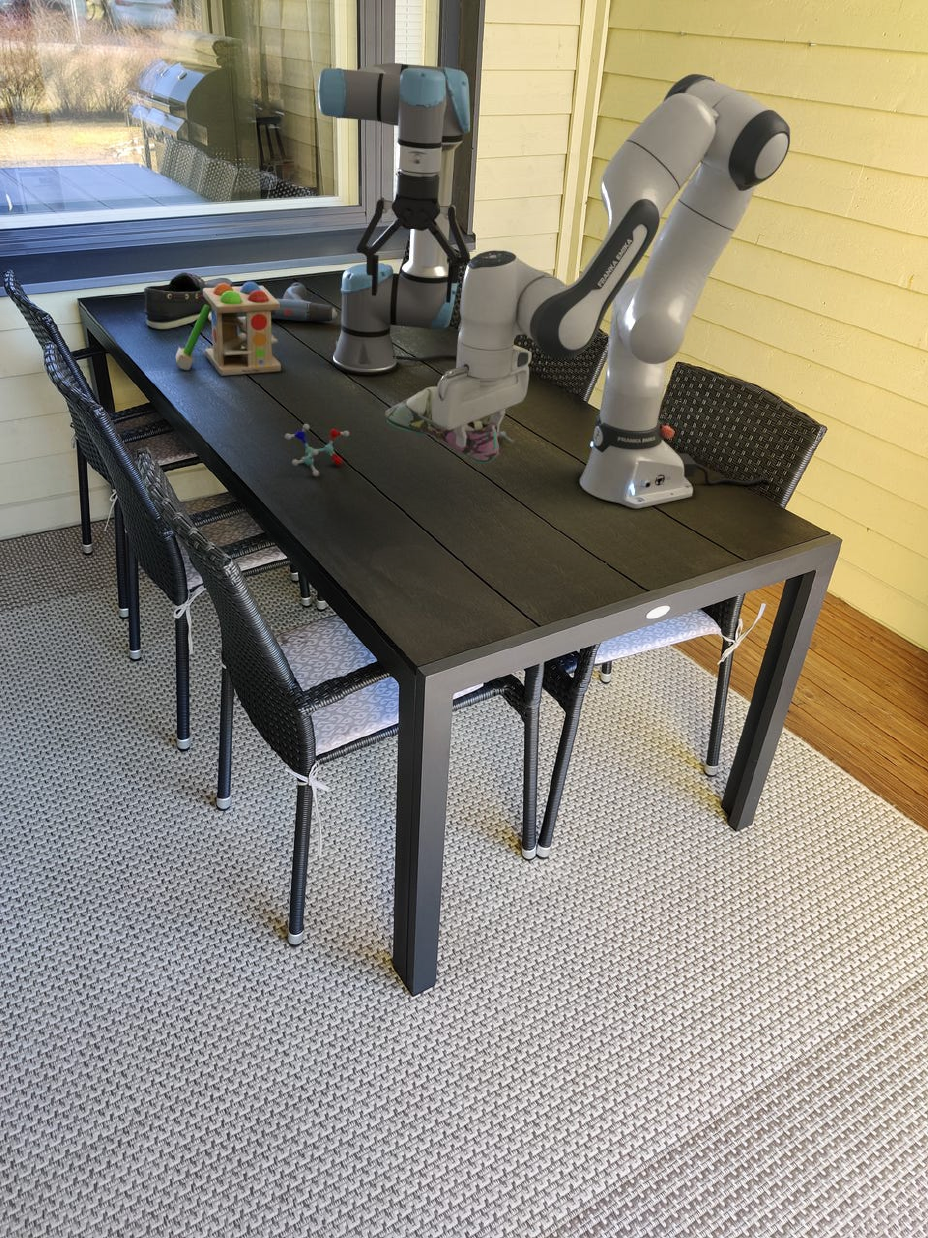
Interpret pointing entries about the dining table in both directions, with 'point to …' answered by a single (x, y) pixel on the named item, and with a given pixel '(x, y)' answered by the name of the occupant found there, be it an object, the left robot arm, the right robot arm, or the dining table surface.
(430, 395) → the ballet flat
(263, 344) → the pounding bench toy
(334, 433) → the molecular model
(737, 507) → the dining table surface
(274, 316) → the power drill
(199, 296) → the boat shoe
